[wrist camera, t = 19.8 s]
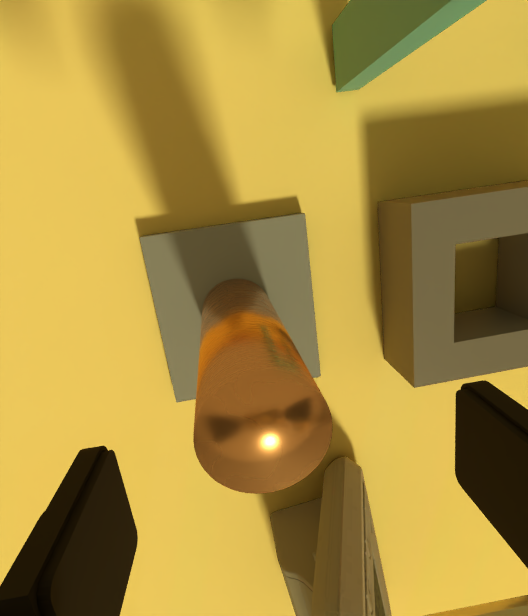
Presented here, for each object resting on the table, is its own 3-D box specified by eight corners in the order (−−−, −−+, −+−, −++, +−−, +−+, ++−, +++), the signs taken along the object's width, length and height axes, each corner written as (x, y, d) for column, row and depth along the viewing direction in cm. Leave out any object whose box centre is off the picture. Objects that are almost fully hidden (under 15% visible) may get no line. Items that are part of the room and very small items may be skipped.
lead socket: (525, 333, 26) (578, 356, 23) (384, 358, 26) (414, 387, 22) (537, 178, 23) (600, 176, 20) (377, 201, 23) (411, 203, 19)
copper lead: (275, 338, 23) (337, 478, 12) (208, 349, 23) (207, 505, 12) (266, 273, 22) (326, 360, 11) (196, 284, 22) (180, 386, 10)
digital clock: (382, 609, 32) (460, 799, 22) (275, 627, 31) (305, 834, 21) (392, 442, 28) (496, 586, 18) (266, 457, 27) (300, 619, 17)
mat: (317, 370, 25) (320, 376, 24) (177, 395, 24) (176, 402, 24) (301, 212, 22) (304, 213, 21) (142, 235, 21) (139, 237, 21)
